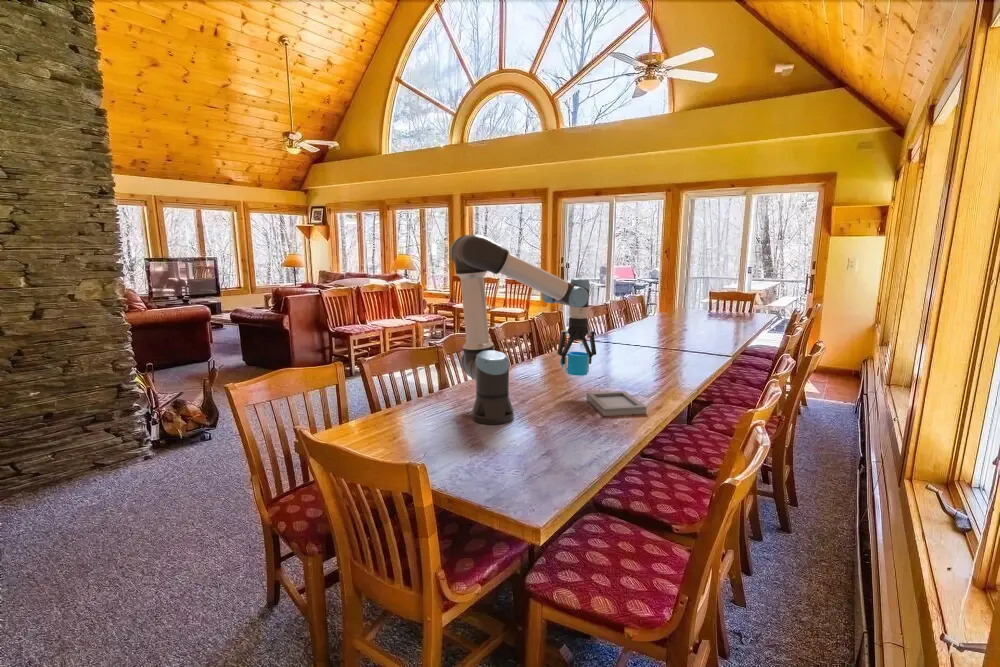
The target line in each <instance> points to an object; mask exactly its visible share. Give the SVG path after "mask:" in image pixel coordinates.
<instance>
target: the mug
mask: <svg viewBox="0 0 1000 667" xmlns="http://www.w3.org/2000/svg"><path fill="white" fill-rule="evenodd" d="M588 355H589V354H588V353H587V352H586V351H585V352H584V351H568V352H567V354H566V356H567V357H568V358H567V373H566V374H569V375H571V376H576V377H578V376H579V377H580V376H587V375H588V373H589V372H588ZM561 359H562V356H561V357H560V359H559V360H560V361H559V363H560V365H561V367H562V368H563V365H564V364H562V363H561Z"/></svg>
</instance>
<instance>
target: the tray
mask: <svg viewBox="0 0 1000 667" xmlns="http://www.w3.org/2000/svg"><path fill="white" fill-rule="evenodd" d="M586 400H587V402H589V403H590V405H592V406H593V407H594V408H595V409H596V410H597V411H598V412H599V413H600V414H601V415H602V416H603V417H614V416H632V414H635V415H647V406H646V405H644V404H643V403H642V402H640V401H639V400H638V399H637V398H635V397H633V396H632V395H631V394H630V393H628V392H627V391H625V390H621V391H604V392H603V391H601V392H600V391H599V392H587V393H586Z"/></svg>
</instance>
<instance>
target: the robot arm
mask: <svg viewBox="0 0 1000 667" xmlns="http://www.w3.org/2000/svg"><path fill="white" fill-rule="evenodd" d="M450 257H451V260H452V262H453V263H454V269H455V270H454V271H455V275H456V276H457V277H458V278H459V279H460V287H461V300H462V308H463V311H462V312H463V318H464V319H463V320H464V330H465V340H466V341H465V343H464V344H463V345H462V352H463V354H462V355H461V360H460V361H461V367H462V370H463V371H464V373H465V374H466V375H467V376H468V377H470V378H471V379H472V380H474V381H475V385H476V386H475V393H476V394H475V401H474V403H473V406H472V409H471V420H473V421H474V422H476V423H478V424H483V425H501V424H507V423H509V422H512V421H513V420H514V418H515V414H514V413H515V412H514V409H513V405H512V403H511V399H510V396H509V395H510V360H509V357H508V355H507V354H506V353H505V352H502V351H498V350H495V347H494V346H495V345H494V342H492V341H491V340H490V335H489V334H490V333H489V332H490V331H489V323H488V312H487V298H486V287H485V286H486V285H485V275H486V274H487V273H488V272H489V273H492V274H494V275H499V274H501V275H503V276H505V277H508V278H510V279H512V280H514V281H516V282H518V283H520V284H523V285H525V286H527V287H529V288H531V289H534V290H535V291H537V292H539V293H541V298H542V301H543V302H544V303H546V304H560V305H564V306H569V312H568V313H569V314H568V315H569V318H568V329H566V330H561V331H560V339H559V343H558V349H557V352H556V354H557V355H558V356H561V357H562V359H561V358H560V360H561V363H562V364H564V365H563V367H562V369H563V370H562V371H563V372H564V373H565V374H568V373H567V368H568V356H566V354H568V353H569V351H570V348H571V346H572V344H573V343H574V342H575V341H581V342H582V345H583V348H584V349H585V353H588V354H589V355H588V372H587V373H589V372H590V370H589V369H590V365H591V364H592V357H593V356H596V355H597V349H596V342H595V335H596V332H595V331H594V330H589V328H588V327H589V326H588V323H589V322H588V321H589V318H588V317H589V303H590V291H591V289H590V286H591V285H590V280H589V279H588V278H571V280H570V282H569V281H567V280H564V279H562V278H560V277H559V276H557V275H555V274H552V273H550V272H549V271H546V270H544V269H542V268H540V267H538V266H536V265H534V264H532V263H530V262H528V261H526V260H524V259H522V258H520V257H519V256H516V255H514V254H512V253H511V252H510V251H509V249H508V248H506V247H505V246H503V245H501V244H499V243H498V242H496V241H494V240H492V239H491V238H488V237H487V236H484V235H481V234H466V235H462V236H459V237H458V238H456V239H455V241H453V243H452V244H451V247H450ZM567 335H568V336H569V337H568V340H567V342H566V343H565V341H566V337H567ZM587 335H588V336H589V343H590V344H589V343H588V341H587V338H586V336H587ZM564 345H565V346H564ZM589 345H590V347H589ZM561 363H560V364H561Z"/></svg>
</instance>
